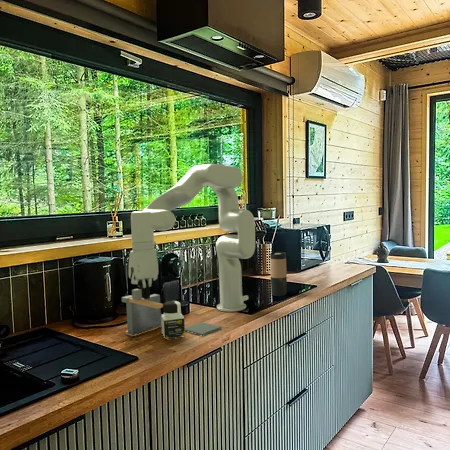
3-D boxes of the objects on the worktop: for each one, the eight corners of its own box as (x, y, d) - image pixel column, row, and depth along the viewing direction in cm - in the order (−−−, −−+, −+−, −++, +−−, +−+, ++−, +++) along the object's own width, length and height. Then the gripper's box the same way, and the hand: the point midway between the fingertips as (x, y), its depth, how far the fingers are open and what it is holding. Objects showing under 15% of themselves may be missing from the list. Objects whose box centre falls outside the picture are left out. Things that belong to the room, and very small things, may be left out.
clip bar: (130, 299, 153) (129, 286, 152) (164, 307, 140) (163, 293, 140) (121, 301, 150) (121, 288, 150) (156, 309, 138) (155, 295, 137)
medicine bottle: (164, 340, 145) (163, 305, 144) (161, 333, 152) (160, 300, 151) (185, 337, 147) (183, 303, 146) (181, 331, 154) (180, 298, 153)
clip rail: (155, 324, 163) (154, 293, 162) (163, 326, 160) (162, 294, 159) (125, 334, 152) (123, 301, 151) (133, 337, 149) (131, 303, 148)
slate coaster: (201, 323, 162) (201, 321, 162) (221, 328, 155) (221, 326, 155) (182, 330, 155) (182, 328, 154) (202, 336, 148) (202, 333, 148)
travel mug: (286, 292, 208) (285, 251, 207) (287, 296, 201) (286, 254, 199) (270, 292, 209) (269, 252, 208) (271, 296, 202) (270, 254, 200)
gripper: (153, 243, 156) (155, 292, 158) (118, 248, 145) (121, 301, 146) (166, 244, 151) (168, 295, 153) (132, 249, 140) (134, 304, 142)
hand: (145, 298), depth 150 cm, fingers closed
